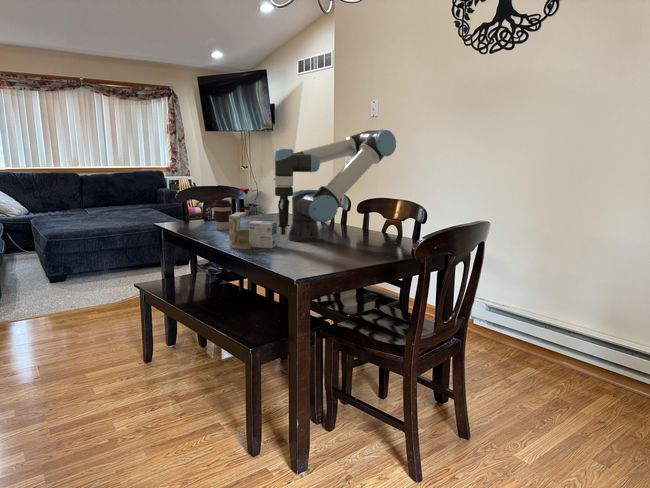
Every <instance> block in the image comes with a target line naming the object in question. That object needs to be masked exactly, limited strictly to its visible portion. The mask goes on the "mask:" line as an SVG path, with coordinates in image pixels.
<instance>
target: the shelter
mask: <svg viewBox="0 0 650 488" xmlns="http://www.w3.org/2000/svg"><path fill="white" fill-rule="evenodd" d="M245 216H247V212H245V211H241V212H240V211H236V212H234V213H233V214H232V213H231V215H229V229H228V232H229V233H228V236H229V237H228V238H229V241H228V245H229V249H245V250H247V249H248V250H249V249H252V247H251V244H249V229H241V225H240V224H241V223H240V222H241V221H240V219H241V218H243V217H245Z"/></svg>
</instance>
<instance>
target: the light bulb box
mask: <svg viewBox="0 0 650 488" xmlns="http://www.w3.org/2000/svg"><path fill="white" fill-rule="evenodd" d="M277 223H278V222H277V221H268V220H267V221H266V220H252V221H249V222H248V230H249V243H248V244H251V248H261V249H262V248H263V249H273V248H276V247H277V246H278V243H277V242H278V239H277V238H278V237H277V236H278V233H277V231H278V230H277V229H278V226H277V225H278V224H277Z"/></svg>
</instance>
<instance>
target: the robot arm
mask: <svg viewBox="0 0 650 488" xmlns="http://www.w3.org/2000/svg"><path fill="white" fill-rule="evenodd" d="M396 148H397V139H396V137H395V135H394V133H393V132H392V131H390V130H387V129H383V128H382V129H379V130H378V129H377V130H365V131H362V132H360V133H356V134H354V135H350V136H347V137H346V138H345V139H343V140H338V141H336V142H332V143H329V144H324V145H321V146H317V147H313V148H309V149H306V150H305V149H304V150H301V151H298V152H295V153H294V150H293V149H292V148H277V149H276V150H275V152H274V153H275V154H274V178H273V181H274V185H275V187H274V196H275V197H279V200H278V201H277V202H278V205H277V207H278V208H277V209H278V220H279V221H278V223H279V224H278V227H279V228H280V233H279V235H280V238H279V239H280V240H279V242H280V243H287V242H288V240H289V241H293V242H304V243H305V242H308V243H309V242H316V241H320V240H321V232H320V231H321V230H320V228H319V225H318V222H319V223H327V222H330V221H332V220H333V219H334V218H335V217H336V215H337V213H338V208H339V206H341V199H342V198H343V197H344V196H345V194H346V193H347V192H348V191H349V190H350V189H351V188H352V187H354V185H355V184H356V183H357V182H358V181H359V180H360V179H361V177H362V176H363V175H365V173H366V172H367V171H368V170H369V169H370V168H371V167H372V166H373V164H374V165H375V164H377V165H378V164H379V163H380V161H382V160H383V158H385V157H389V156H392V155H393V154H394V153H395V150H396ZM344 157H351V159H350V160H349V161H348V163H347V164H345V165H344V167H343V168H342V169H340V170H339V172H338V173H337V174H336V175H335V176H334V177H333V179H331V180H330V181H329V182H328V183H327V185H321V186H320V187H319V188H318V189H302V190H301V189H299V190H294V188H293V187H294V173H315V172H316V173H317V172H319V170H320V167H321V164H323V163H326V162H330V161H334V160H337V159H341V158H344ZM289 197H291V200H292V201H291V203H292V205H291V209H292V210H291V213H292V214H291V216H292V219H291V221H292V223H291V226H290V224H289V211H290V199H289ZM289 226H290V229H289V231H288V227H289Z"/></svg>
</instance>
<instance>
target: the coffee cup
mask: <svg viewBox="0 0 650 488" xmlns="http://www.w3.org/2000/svg"><path fill="white" fill-rule="evenodd" d="M211 206H212V208H213V215H214V216H213V217H214V218H213V220H214V222H215V223H214V224H215V229H216V230H217V229H218V230H219V231H223V230H224V231H227V229H228V230H229V215H232V207H233V203H231V202H230V200H229V199H216V200H215V201H214V203H212V205H211Z"/></svg>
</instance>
